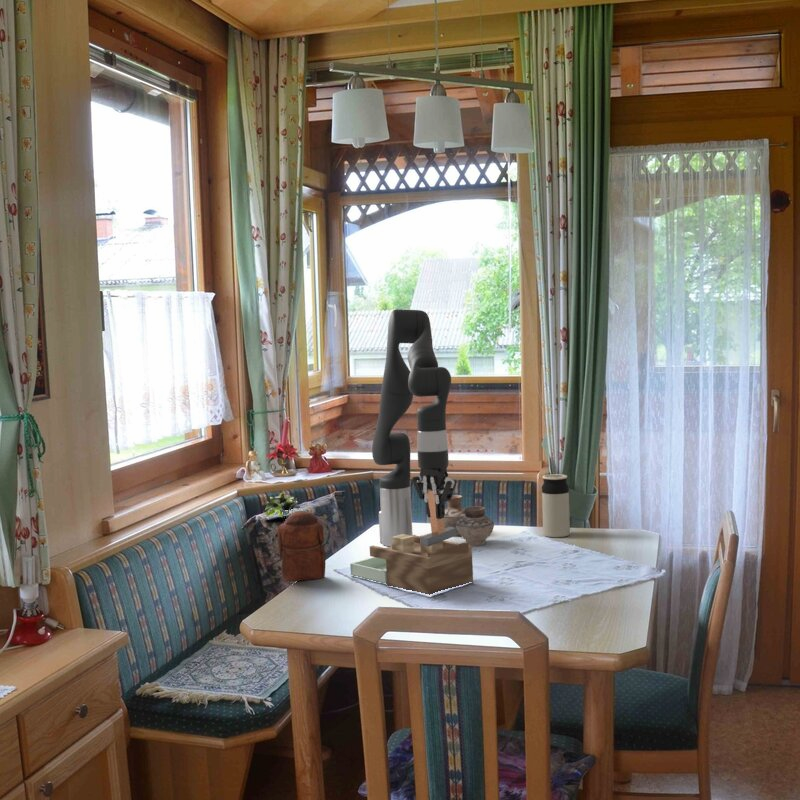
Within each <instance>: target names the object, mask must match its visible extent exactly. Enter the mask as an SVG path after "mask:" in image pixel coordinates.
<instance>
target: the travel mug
mask: <svg viewBox="0 0 800 800" xmlns="http://www.w3.org/2000/svg"><path fill="white" fill-rule="evenodd" d="M567 478H568V475H567V474H562V473H552V474H551V473H550V474H544V475H542V479H543V484H542V486H541V499H542V500H541V502H542V503H541V504H542V507H541V508H542V526H543V527H542V531H543V535H544V536H545V537H548V538H565V537H568V536H570V535H571V521H570V494H569V493H570V492H569V491H570V489H569V488H570V487H569V485H568V483H567Z"/></svg>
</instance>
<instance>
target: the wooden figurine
mask: <svg viewBox="0 0 800 800" xmlns="http://www.w3.org/2000/svg"><path fill="white" fill-rule="evenodd" d="M324 536H325V535H324V526H323V524H322V523H321V522H319V521H318V518H317V516H316V515H315V514H313V512H310V511H307V510H298V511H294V512H292V514H291V515H287V517H286V519H285V521H283V522H282V523H281V524H280V525H279V526H278V527H277V546H278V547H277V548H278V549H277V550H278V555H279V558H280V559H281V566H280V569H281V579H282V581H283V582H301V581H309V580H310V581H311V580H318V579H323V578H325V574H326V552H325V551H326V550H325V546H324V545H323V544H324V542H325V537H324ZM300 580H301V581H300Z"/></svg>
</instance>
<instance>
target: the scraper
mask: <svg viewBox="0 0 800 800" xmlns="http://www.w3.org/2000/svg"><path fill="white" fill-rule="evenodd" d="M440 490H441V489H439V490H438V491H440ZM440 498H441V495H440ZM428 503H429V511H430V517H429V522H430V531H431V532H430V533H431V534H429V533H427V534H428V535H425V534H424V535H425V536H423V537H420V539H421V545H422V546H427V547H428V546H431V545H433V544H436V543H439V542H441V541H447V540H448V539H451V538H454V537H458V536H457V531H456V528H455V527H447V528H445V525H444V518H442V519H437V518H436V501H435V495H434V494H433V490H432V489H429V490H428Z"/></svg>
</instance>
